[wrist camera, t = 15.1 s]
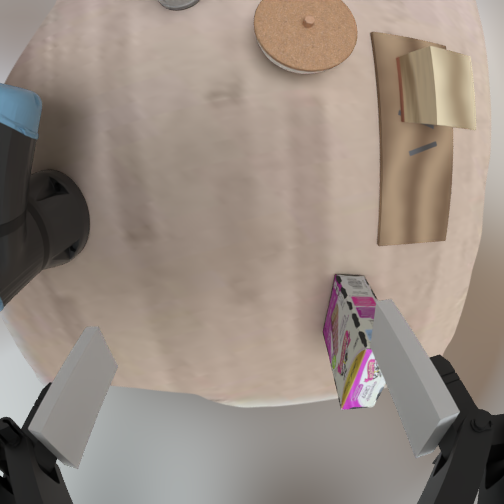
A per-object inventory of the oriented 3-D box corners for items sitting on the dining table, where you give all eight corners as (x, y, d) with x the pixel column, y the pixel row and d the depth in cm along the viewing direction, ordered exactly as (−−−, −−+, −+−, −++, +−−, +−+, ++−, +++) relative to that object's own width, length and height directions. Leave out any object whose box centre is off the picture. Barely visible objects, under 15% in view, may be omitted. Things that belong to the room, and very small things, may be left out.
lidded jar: (254, 79, 33) (253, 65, 24) (254, 6, 28) (253, -25, 20) (340, 84, 32) (364, 73, 24) (337, 12, 28) (359, -15, 19)
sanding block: (401, 121, 33) (437, 124, 25) (395, 57, 30) (430, 45, 21) (437, 125, 33) (476, 130, 25) (432, 64, 29) (470, 56, 21)
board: (377, 243, 41) (379, 246, 40) (370, 33, 29) (372, 31, 28) (442, 238, 41) (445, 240, 40) (443, 47, 28) (445, 46, 28)
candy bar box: (332, 273, 43) (365, 347, 28) (364, 274, 43) (406, 345, 28) (320, 332, 48) (339, 411, 33) (348, 332, 48) (375, 408, 33)
